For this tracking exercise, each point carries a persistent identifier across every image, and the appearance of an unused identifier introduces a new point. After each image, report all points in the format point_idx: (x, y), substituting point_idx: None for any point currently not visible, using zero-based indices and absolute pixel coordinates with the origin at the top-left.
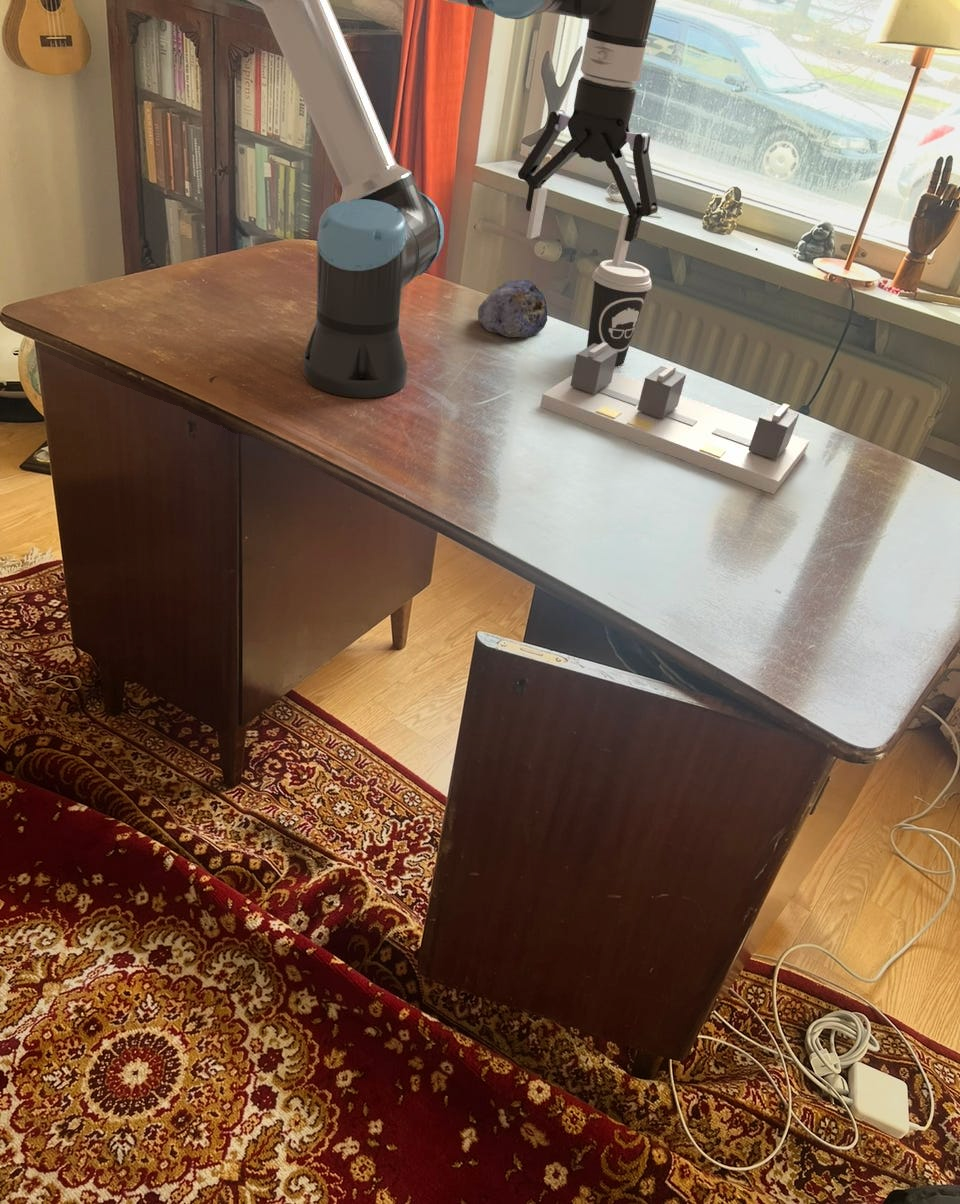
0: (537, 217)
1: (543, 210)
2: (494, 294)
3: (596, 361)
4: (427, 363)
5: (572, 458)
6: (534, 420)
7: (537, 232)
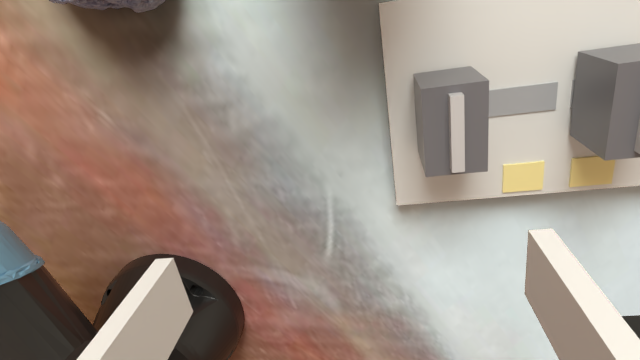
0: (152, 347)
1: (127, 331)
2: (56, 1)
3: (475, 172)
4: (186, 210)
5: (518, 285)
6: (416, 237)
7: (173, 285)
